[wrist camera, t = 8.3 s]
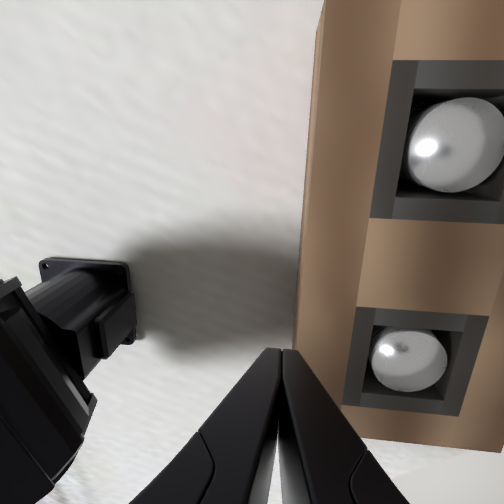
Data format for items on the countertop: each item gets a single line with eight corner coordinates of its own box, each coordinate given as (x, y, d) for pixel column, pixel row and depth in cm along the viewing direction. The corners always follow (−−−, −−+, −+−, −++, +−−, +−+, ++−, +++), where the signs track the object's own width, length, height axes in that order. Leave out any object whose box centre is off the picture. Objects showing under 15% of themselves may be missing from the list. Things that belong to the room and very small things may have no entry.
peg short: (375, 178, 19) (403, 190, 14) (386, 108, 18) (419, 96, 13) (443, 181, 18) (493, 194, 14) (459, 109, 17) (519, 97, 13)
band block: (289, 373, 24) (290, 429, 19) (316, 32, 17) (326, -10, 12) (457, 389, 23) (500, 453, 18) (562, 31, 16) (679, -16, 11)
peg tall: (351, 338, 22) (367, 388, 18) (359, 289, 21) (378, 329, 17) (408, 343, 22) (438, 395, 18) (418, 293, 21) (454, 335, 16)
